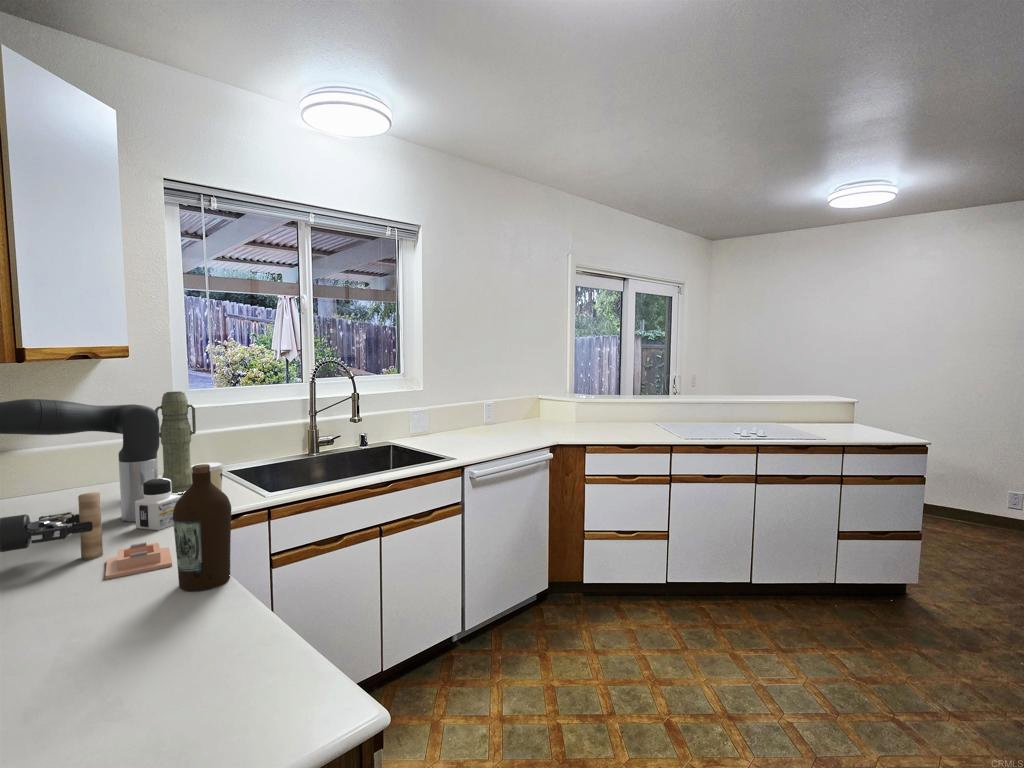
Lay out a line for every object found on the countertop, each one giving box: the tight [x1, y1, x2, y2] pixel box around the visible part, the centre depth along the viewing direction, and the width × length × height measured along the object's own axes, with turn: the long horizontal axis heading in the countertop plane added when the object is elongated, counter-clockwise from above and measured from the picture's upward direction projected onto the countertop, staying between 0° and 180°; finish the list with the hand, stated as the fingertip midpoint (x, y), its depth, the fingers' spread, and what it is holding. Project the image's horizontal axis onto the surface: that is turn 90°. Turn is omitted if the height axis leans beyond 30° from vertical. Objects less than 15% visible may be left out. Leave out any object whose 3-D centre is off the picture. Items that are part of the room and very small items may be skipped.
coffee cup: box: [190, 461, 224, 492], centre depth 171 cm, size 9×9×12 cm
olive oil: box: [172, 464, 232, 592], centre depth 111 cm, size 11×11×25 cm
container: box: [135, 477, 181, 531], centre depth 148 cm, size 8×8×13 cm
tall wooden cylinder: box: [77, 491, 104, 561], centre depth 125 cm, size 4×4×15 cm
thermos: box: [154, 391, 197, 493], centre depth 182 cm, size 9×12×35 cm
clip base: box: [105, 541, 173, 580], centre depth 121 cm, size 12×12×4 cm
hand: (93, 521), depth 125 cm, fingers open, 8 cm apart
